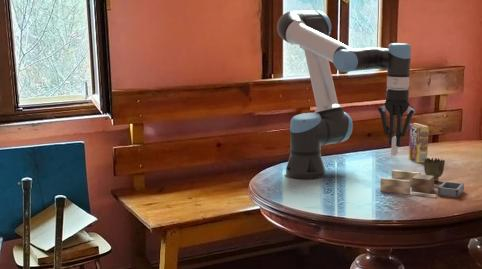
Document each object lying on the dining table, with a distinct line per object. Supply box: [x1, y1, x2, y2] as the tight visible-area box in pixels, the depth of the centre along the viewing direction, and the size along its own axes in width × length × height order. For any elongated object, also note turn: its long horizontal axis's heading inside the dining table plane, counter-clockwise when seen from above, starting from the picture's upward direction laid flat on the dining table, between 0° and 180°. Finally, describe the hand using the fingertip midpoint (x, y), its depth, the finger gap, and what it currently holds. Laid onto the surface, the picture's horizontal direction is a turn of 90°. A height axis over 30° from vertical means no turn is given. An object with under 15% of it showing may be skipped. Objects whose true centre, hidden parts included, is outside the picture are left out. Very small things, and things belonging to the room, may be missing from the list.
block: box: [411, 173, 435, 194], centre depth 217 cm, size 6×6×5 cm
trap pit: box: [437, 181, 465, 199], centre depth 213 cm, size 6×9×3 cm
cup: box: [423, 157, 446, 183], centre depth 228 cm, size 8×7×8 cm
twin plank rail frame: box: [379, 169, 441, 199], centre depth 219 cm, size 19×14×4 cm
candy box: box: [408, 122, 430, 164], centre depth 260 cm, size 9×4×15 cm, turn 13°
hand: (394, 154), depth 221 cm, fingers closed
